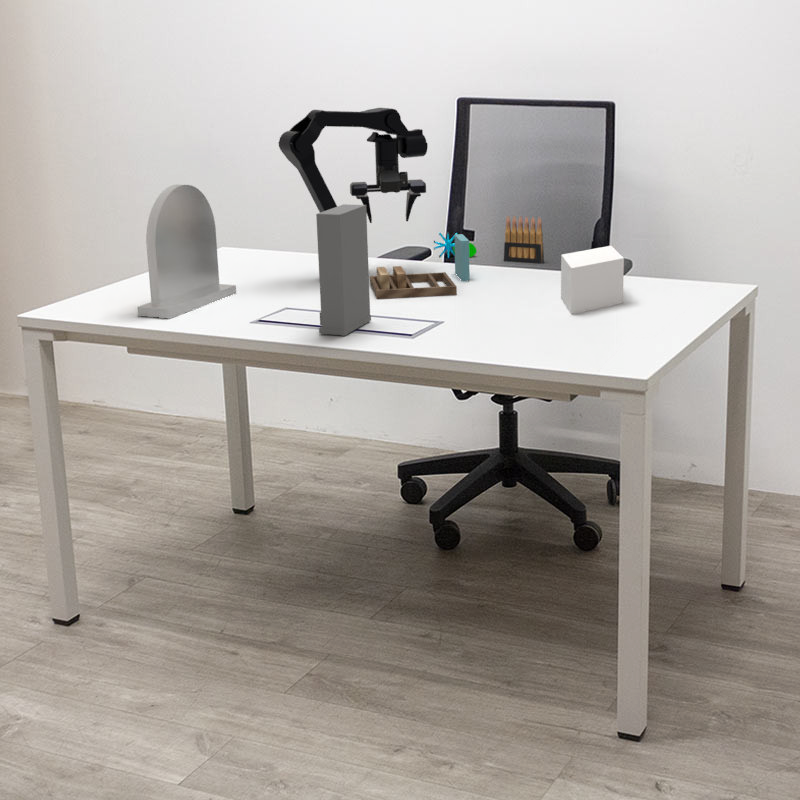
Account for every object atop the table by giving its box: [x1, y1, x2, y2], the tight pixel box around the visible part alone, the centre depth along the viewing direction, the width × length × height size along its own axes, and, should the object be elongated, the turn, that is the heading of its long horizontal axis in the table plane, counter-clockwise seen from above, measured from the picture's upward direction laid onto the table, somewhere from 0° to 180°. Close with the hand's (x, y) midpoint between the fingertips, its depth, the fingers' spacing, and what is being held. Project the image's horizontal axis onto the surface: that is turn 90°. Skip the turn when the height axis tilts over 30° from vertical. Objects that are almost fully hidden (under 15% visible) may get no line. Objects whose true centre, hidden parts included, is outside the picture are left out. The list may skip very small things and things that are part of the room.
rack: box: [369, 271, 458, 300], centre depth 298 cm, size 19×18×2 cm
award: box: [137, 184, 237, 320], centre depth 285 cm, size 28×9×28 cm, turn 155°
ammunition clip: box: [503, 215, 545, 265], centre depth 326 cm, size 11×2×12 cm, turn 62°
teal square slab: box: [454, 233, 470, 282], centre depth 309 cm, size 2×10×10 cm, turn 6°
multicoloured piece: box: [433, 231, 477, 259], centre depth 339 cm, size 12×7×8 cm
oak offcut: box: [392, 265, 407, 289], centre depth 297 cm, size 2×10×5 cm, turn 7°
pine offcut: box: [376, 266, 390, 290], centre depth 297 cm, size 2×10×5 cm, turn 6°
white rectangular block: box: [560, 245, 625, 315], centre depth 280 cm, size 14×29×10 cm, turn 154°
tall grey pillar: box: [315, 203, 372, 337], centre depth 259 cm, size 14×6×25 cm, turn 159°
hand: (388, 222), depth 315 cm, fingers open, 9 cm apart
